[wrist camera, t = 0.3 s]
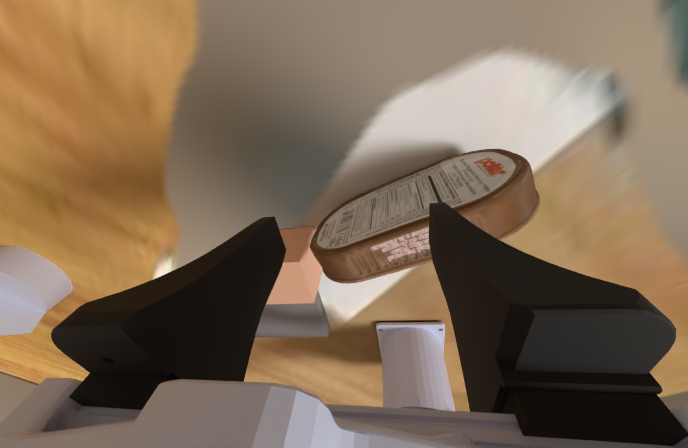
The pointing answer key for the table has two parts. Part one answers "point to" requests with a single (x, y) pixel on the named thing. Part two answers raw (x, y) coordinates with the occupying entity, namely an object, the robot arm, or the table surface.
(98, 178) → the table surface
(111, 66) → the table surface
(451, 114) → the table surface
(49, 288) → the wedge on round base
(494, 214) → the tin
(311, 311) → the charcoal board
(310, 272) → the cube
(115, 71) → the table surface
